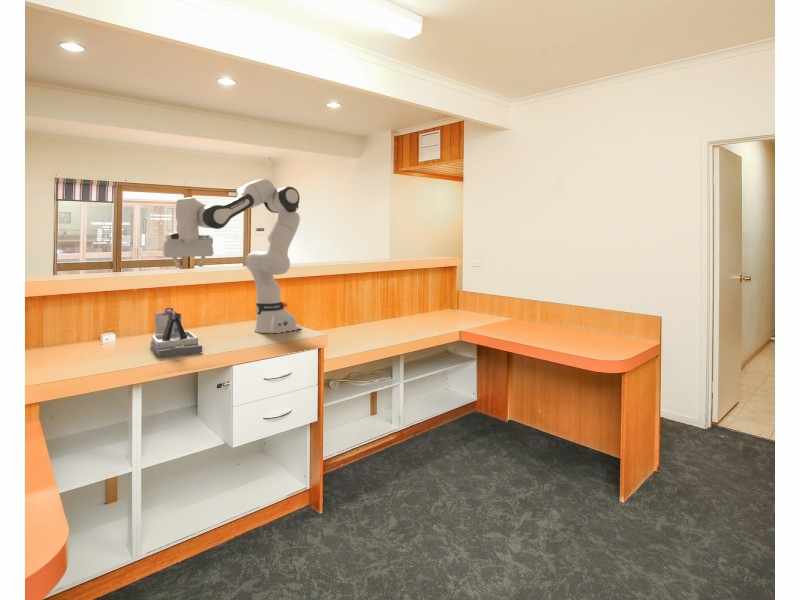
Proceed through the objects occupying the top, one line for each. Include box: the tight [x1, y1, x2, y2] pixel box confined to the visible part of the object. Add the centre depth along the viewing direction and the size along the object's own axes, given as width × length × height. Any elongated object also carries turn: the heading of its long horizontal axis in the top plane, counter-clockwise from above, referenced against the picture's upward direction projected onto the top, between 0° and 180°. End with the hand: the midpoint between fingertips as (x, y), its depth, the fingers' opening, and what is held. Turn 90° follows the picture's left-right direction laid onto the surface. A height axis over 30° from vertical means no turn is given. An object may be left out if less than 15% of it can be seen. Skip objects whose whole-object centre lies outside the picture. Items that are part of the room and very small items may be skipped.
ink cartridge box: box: [154, 307, 182, 335], centre depth 220 cm, size 10×6×14 cm, turn 79°
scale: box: [150, 330, 203, 359], centre depth 203 cm, size 16×20×5 cm
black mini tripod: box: [162, 310, 188, 341], centre depth 204 cm, size 9×6×12 cm, turn 124°
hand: (189, 267), depth 216 cm, fingers open, 8 cm apart
